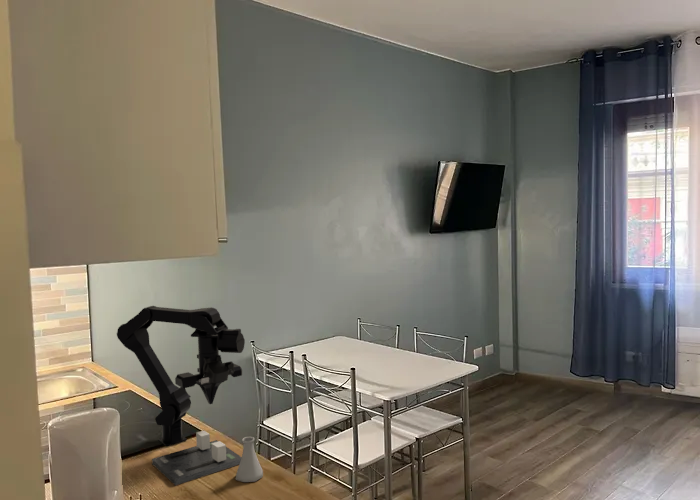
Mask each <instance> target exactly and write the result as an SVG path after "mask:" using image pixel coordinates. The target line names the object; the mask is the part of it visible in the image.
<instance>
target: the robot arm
mask: <svg viewBox="0 0 700 500" xmlns="http://www.w3.org/2000/svg"><path fill="white" fill-rule="evenodd" d="M154 322H161V323H171V324H181V325H182V324H183V325H186V326H188V327H190V328H192V329H195V330H194V331H193V332H192V333H191V334H190V337H191V338H197V343H198V344H197V345H198V348H197V349H198V353H197V354H196V359H198V368H197V369H196V370H197V374H193V373H191V372H189V371H187V372H183V373H177V374H176V376H175V377H174V378H175V379H174V380H175V381H174V382H173V381H172V378H170V376H169V373H168V372H167V370H166V369H165V367H164V366H163V364H162V363H161V361H160V359H159V358H158V356H157V354H156V353H155V351H154V349H153V348H152V346H151V344H150V335H149V334H150V333H149V331H148V328H150V327H151V326H152V324H153V323H154ZM116 337H117V340H119V342H121V344H122V345H123V346H124V348H126V349H128V350H129V351H131V352H132V353H134V355H135V356H136V357H137V360H138V362H139V363H140V364H141V366H142V368H143V369H144V371H145V373H146V375H147V376H148V378H149V379H150V382H151V383H152V384H153V387H154V388H155V390H156V391H157V393H158V397H159V405H160V408H161V410H162V411H160V413H159V414H158V415H156V416H155V418H154V420H155V422H156V425H157V426H161V437H158V441H159V442H160V443H162V444H163V445H164V446H165V447H168V446H171V445H175V444H178V443H183V442H186V441H188V440H187V437H185V436H184V435H183V422H182V419H183V418H184V417H186V415H187V412H188V411H189V410H190V408H191V405H192V401H191V395H190V394H189V393H188V392H187V390H186V388H192V387H195V385H198V386H199V387H200V390H202V393H203V395H204V397H205V399H206V401H207V403H208V405H213V403H214V400H215V398H216V393H217V391H218V388H219V386H221V384H223V383H224V382H226V381H228V379H229V376H231V377H232V378H237V377H242V376H243V369H242V367H241V366H240V365H238V364H235V363H234V362H233V361H226V362H223V361H222V355H221V354H220V352H221V353H228V354H229V353H231V354H232V353H233V354H235V353H236V354H241V353H242V352H243V351H244V348H245V343H246V342H245V338H244V334H243V333H242V329H241V328H235V329H230V328H229V327H228V325H227V324H226V323H225V320H223V319H222V317H221V315H220V312H219V311H218V309H217V308H214V307H202V308H201V307H200V308H195V309H184V308H175V307H174V308H171V307H162V306H156V305H150V306H146V307H144V308H142V309H141V310H140V311H139V312H138V313H137V314H136V315H135V316H133V317H132V318H130V320H128V321H127V322H126V323H122V324H121V325H120V326H119V327H118V328H117V331H116ZM219 351H220V352H219ZM174 383H175V384H174Z"/></svg>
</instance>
